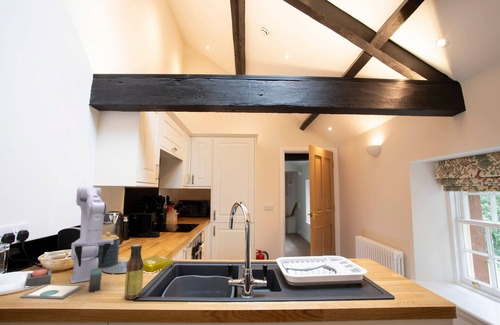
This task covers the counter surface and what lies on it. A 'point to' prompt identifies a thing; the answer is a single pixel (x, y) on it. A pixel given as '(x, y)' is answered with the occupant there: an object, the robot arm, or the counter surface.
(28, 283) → the button housing
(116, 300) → the counter surface
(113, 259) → the canister
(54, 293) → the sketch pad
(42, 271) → the button
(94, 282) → the dark piece
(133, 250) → the sauce bottle
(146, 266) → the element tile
